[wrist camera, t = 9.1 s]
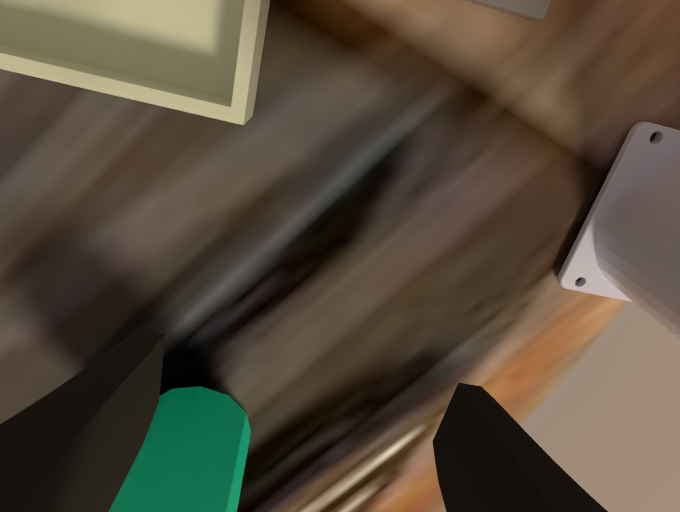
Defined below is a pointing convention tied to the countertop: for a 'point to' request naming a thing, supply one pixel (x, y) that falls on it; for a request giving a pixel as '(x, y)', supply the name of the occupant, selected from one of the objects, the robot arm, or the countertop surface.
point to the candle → (189, 456)
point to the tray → (143, 49)
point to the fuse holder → (519, 7)
